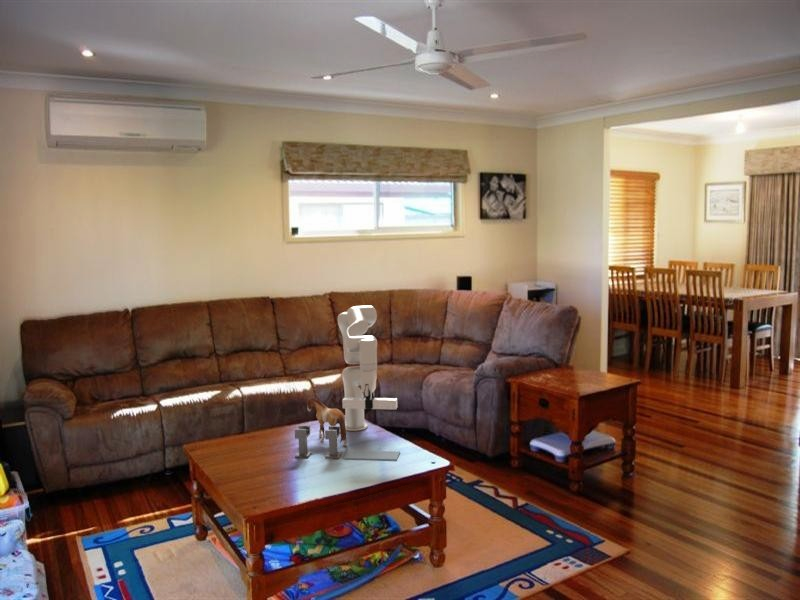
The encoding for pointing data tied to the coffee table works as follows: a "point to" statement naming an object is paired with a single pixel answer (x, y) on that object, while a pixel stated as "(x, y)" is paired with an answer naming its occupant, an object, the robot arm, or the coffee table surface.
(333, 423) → the horse figurine
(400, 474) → the coffee table surface
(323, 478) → the coffee table surface
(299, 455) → the post
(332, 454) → the post
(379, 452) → the mat
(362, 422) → the robot arm
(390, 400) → the rail
